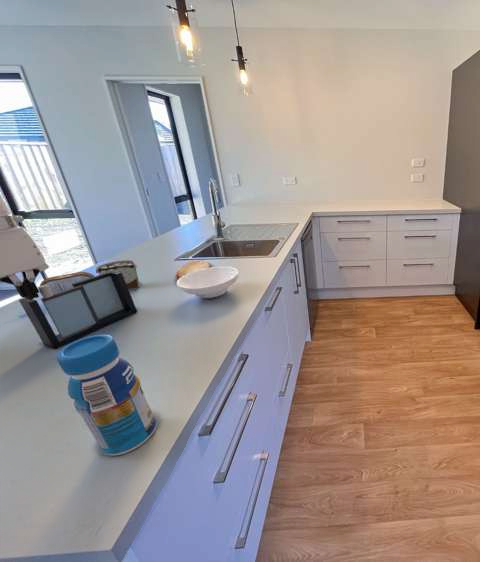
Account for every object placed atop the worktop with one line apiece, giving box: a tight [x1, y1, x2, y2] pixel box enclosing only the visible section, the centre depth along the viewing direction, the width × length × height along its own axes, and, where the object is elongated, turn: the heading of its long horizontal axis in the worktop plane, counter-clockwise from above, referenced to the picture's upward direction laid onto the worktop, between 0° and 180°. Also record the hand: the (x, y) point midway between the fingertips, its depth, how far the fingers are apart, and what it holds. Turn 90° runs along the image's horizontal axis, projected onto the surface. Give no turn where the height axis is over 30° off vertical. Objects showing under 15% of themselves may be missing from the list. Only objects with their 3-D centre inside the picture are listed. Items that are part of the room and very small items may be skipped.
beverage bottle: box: [56, 334, 158, 456], centre depth 50 cm, size 8×8×20 cm
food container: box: [95, 259, 141, 291], centre depth 113 cm, size 12×6×10 cm, turn 111°
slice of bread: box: [175, 260, 212, 281], centre depth 126 cm, size 18×18×4 cm
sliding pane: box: [37, 285, 99, 337], centre depth 82 cm, size 9×2×15 cm, turn 158°
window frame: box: [18, 270, 138, 350], centre depth 86 cm, size 21×5×14 cm, turn 158°
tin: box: [39, 271, 96, 294], centre depth 107 cm, size 15×3×8 cm, turn 130°
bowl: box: [176, 266, 239, 299], centre depth 107 cm, size 20×20×7 cm
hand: (32, 297), depth 75 cm, fingers closed
